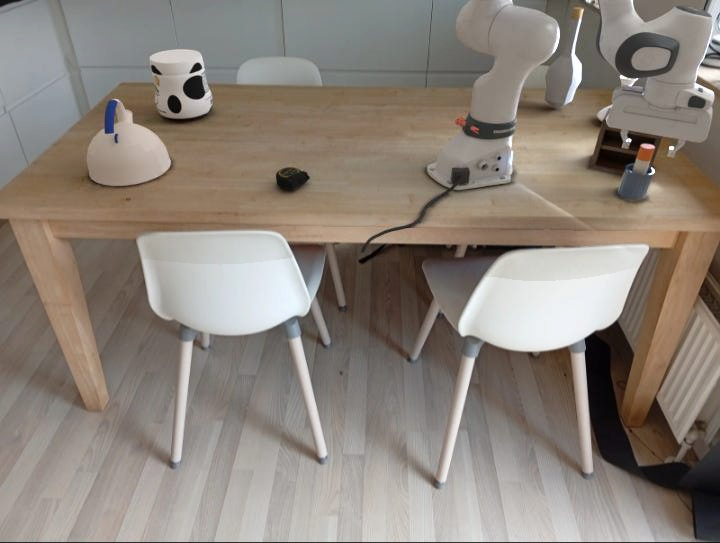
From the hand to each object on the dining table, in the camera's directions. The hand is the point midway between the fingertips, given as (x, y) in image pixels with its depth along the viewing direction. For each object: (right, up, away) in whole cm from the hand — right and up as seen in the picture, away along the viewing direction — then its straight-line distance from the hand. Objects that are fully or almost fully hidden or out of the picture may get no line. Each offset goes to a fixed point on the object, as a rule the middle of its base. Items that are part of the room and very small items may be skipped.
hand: (647, 151), depth 122 cm
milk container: (-120, +23, +50) cm, 132 cm away
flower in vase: (+14, +19, +45) cm, 50 cm away
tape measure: (-82, -6, +11) cm, 83 cm away
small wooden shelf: (+3, 0, +19) cm, 20 cm away
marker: (0, -8, +7) cm, 11 cm away
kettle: (-125, 0, +19) cm, 127 cm away
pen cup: (0, -9, +7) cm, 11 cm away
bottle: (-1, +26, +54) cm, 60 cm away
